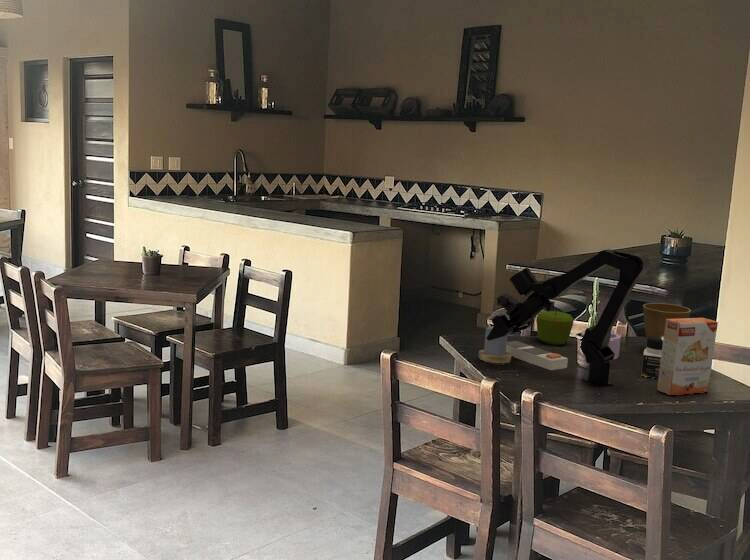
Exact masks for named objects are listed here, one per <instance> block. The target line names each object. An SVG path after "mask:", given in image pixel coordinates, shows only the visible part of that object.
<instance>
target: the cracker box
mask: <svg viewBox="0 0 750 560" xmlns="http://www.w3.org/2000/svg"><path fill="white" fill-rule="evenodd" d="M718 324H719V322H718V321H716V320H713V319H709V318H705V317H689V318H679V319H666V323H665V331H664V338H663V346H662V353H661V361H660V368H659V376H658V379H657V385H656V386H657V387H656V391H657V390H658V392H660V393H662V392H663V394H664V393H666V394H665V395H667V394H668V396H669V395H677V396H685V395H684V394H689V395H695V394H694V393H700V394H703V393H702V392H709V391H708V390H709V387H710V386H709V385H710V377H711V370H712V364H713V358H714V353H715V352H714V351H715V344H716V338H717V331H718V330H717V329H718Z"/></svg>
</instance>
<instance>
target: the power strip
mask: <svg viewBox="0 0 750 560" xmlns="http://www.w3.org/2000/svg"><path fill="white" fill-rule="evenodd" d="M506 352H508V353H510V354H511V357H512V356H513V357H512V358H515V359H518V360H521V361H523V362H527V363H528V364H532V365H534V366H537V367H541V368H543V369H546V370H548V371H554V370H562V369H567V368H568V360H569V358H568V357H565V356H562V354H559V353H555V352H554V353H553V352H550V351H549V350H544V349H542V348H539V347H535V346H532V345H530V344H527V343H524V342H521V341H519V340H512V341H507V347H506Z"/></svg>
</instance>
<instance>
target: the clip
mask: <svg viewBox="0 0 750 560" xmlns="http://www.w3.org/2000/svg"><path fill="white" fill-rule="evenodd" d="M584 333H585V330H582V331H581V333H580V337H581V336H584ZM621 338H622V336H621V335H620V334H617V333H615V329H614V328H612V329H611V337H610V341H609V344H608V346H609V347H610V348H611V350H612V351H613V352H614V354H615V356H614V358H613V360H617V359H619V358H618V357H619V356H620V349H621V340H622V339H621Z"/></svg>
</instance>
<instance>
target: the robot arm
mask: <svg viewBox="0 0 750 560" xmlns="http://www.w3.org/2000/svg"><path fill="white" fill-rule="evenodd" d="M605 266H610V267H611V268H614V269H618V270H619V272H618V273H619V274H618V282H617V284H616V286H615V288H614V289H613V291H612V293H611V296H610V298H609V299H608V301H607V303H606V306H605V307H604V309H603V311H602V313H601V315H600V317H599V318H598V321H597V322H596V324H595V325H591V326H589V327H587V328H585V330H584V331H585V333H584V336H583V338H582V339H581V338H580V339H579V340H580V341H582V342H581V346H580V345H579V349H580V348H581V350H582V352H583V354H584V355H585V356H584V358H585V359H584V360H585V362H586V364H588V365H587V373H586V374H587V375H586V377H582V378H581V380H582V381H584V382H586V383H588V384H589V385H591V386H593V387H594V386H597V387H599V386H613V385H614V384H613V383H612V382H611V381H609V377H610V367H611V363H610V362H612V361H613V360H614V359H613V358H614V356H615V354H614V352H613V351H612V350H611V348H610V347H609V346H608V344H609V341H610V337H611V329H613V327H614V325H615V323H616V321H617V319H618V318H619V315H620V314H621V312H622V310H623V308H624V306H625V304H626V302H627V300H628V298H629V296H630V295H631V293H632V291H633V289H634V287H635V286H636V285H637V284H638V283H639V282H640V281H641V280H642V278H644V276H645V275H646V274H647V272H648V271H649V270H650V267H651V262H650V258H649V257H648V256H647V255H646V254H645V253H644V254H643V253H635V254H632V253H628V252H627V253H626V252H623V251H622V252H621V251H617V250H613V249H611V248H610V249H609V248H608V249H607V248H606V249H602V250H600V251H599V252H598V253H597V254H595V255H593V256H592V257H590V258H589V259H587V260H585V261H584V262H582V263H581V264H579V265H577V266H575V267H574V268H572V269H570V270H569V271H567V272H565V273H562V274H560V275H556V276H553V277H551V278H549V279H546V280H539V281H538V280H537V278H536V277H535V275H534V274H533V273H532V271H531V270H530V268H529V267H524V268H523V269H522V270H521V271H519V272H517V273H515V274H513V275H512V276H511V277H510V278H509V280H508V281H509V282H510V284H511V285H512V286H513V287H514V289H515V290H516V291H517V293H518V295H520V296H523V295H524V297H526V298H524V300H522V301H521V302H520V301H519V300H518V298H515V297H514V296H512V295H511V294H510V293H508V292H505V293H501V294H500V295H499V296H498V297H497V298H496V300H497V301H496V305H498V306H500V307H501V308H503V309H504V310H506V311H505V313H506V314H503V313H502V314H501V313H500V314H496V315H495V316H494V317H492V318H491V322H492V323H491V324H492V326H493V328H492V330H491V332H490V333H489V335H488V336H487V340H488V341H489V340H493V339H496V338H500V337H503V336H507V335H508V336H509V335H510V334H514V333H518V332H521V331H523V330H527V329H529V328H531V327H533V325H534V324H535V319H536V318H537V316H538V314H540V313H541V312H543V310H544V309H545V310H546V311H555V303H556V302H555V301H552V300H554V299H557V298H560V297H563V296H564V295H565V294H567V292H569V291H570V290H571V289H572V288H573V287H574V286H575V285H576V284H577V283H579V282H580V281H582V280H584V279H585V278H587V277H588V276H591V275H592V274H593V273H595V272H597V271H598V270H600V269H602V268H604V267H605ZM506 315H507V316H508V317H507V316H506ZM508 336H507V337H508Z"/></svg>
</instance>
